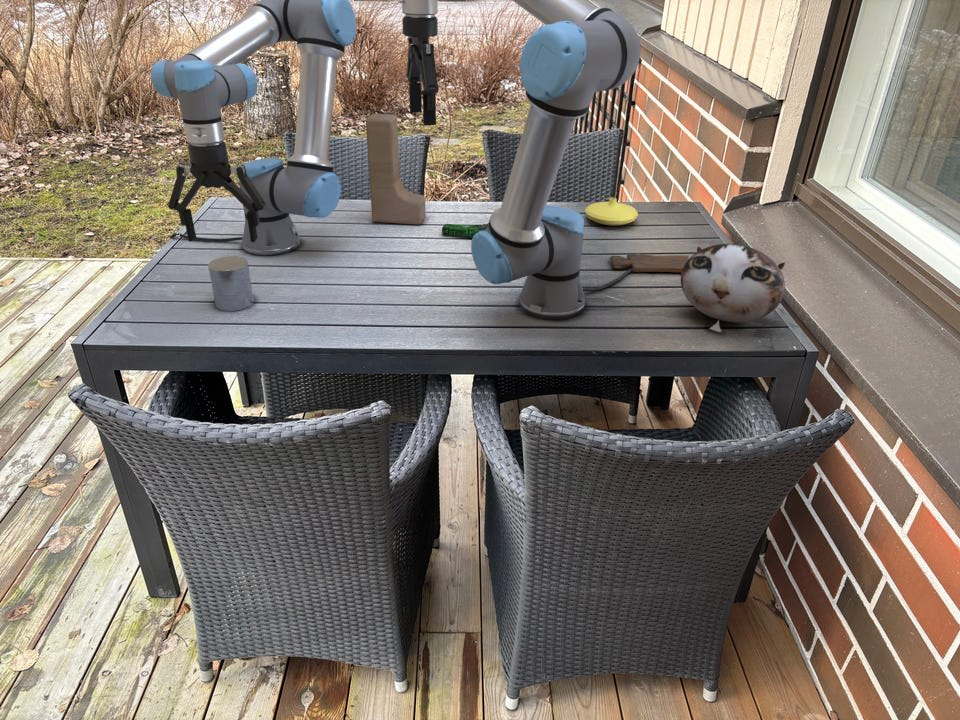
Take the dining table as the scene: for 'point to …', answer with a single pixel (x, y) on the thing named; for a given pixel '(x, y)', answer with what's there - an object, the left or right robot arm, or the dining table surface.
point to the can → (231, 283)
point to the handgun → (463, 230)
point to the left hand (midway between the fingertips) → (223, 239)
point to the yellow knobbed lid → (611, 213)
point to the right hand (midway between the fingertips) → (422, 118)
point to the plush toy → (732, 283)
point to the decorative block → (389, 175)
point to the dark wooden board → (650, 263)
